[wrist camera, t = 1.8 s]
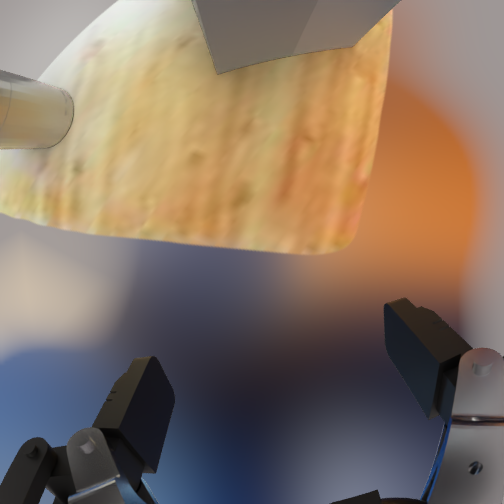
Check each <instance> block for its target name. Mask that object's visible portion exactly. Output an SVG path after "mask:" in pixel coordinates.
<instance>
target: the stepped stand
mask: <svg viewBox="0 0 504 504" xmlns="http://www.w3.org/2000/svg"><path fill="white" fill-rule="evenodd" d="M400 1H401V0H192V3H193V6H194V9H195V12H196V14H197V17H198V20H199V23H200V26H201V28H202V31H203V34H204V37H205V40H206V43H207V46H208V48H209V51H210V54H211V57H212V60H213V63H214V66H215V69H216V72H217V75H218V74H221V73H224V72H228V71H231V70H235V69H238V68H242V67H246V66H249V65H253V64H257V63H261V62H266V61H270V60H274V59H279V58H284V57H289V56H294V55H299V54H305V53H311V52H317V51H323V50H331V49H338V48H347V47H353V46H354V45H355V44H356V43H357V42H358V41H359V40H360V39H361V38H362V37H363V36H364V35H365V34H366V33H367V32H368V31H369V30H370V29H371V28H372V27H373V26H374V25H375V24H376V23H377V22H379V21H380V20H381V19H382V18H383V17H384V16H385V15H386V14H387V13H388V12H389V11H390V10H391V9H392V8H393V7H394V6H395V5H396V4H398V3H399V2H400Z"/></svg>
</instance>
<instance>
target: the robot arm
mask: <svg viewBox="0 0 504 504" xmlns="http://www.w3.org/2000/svg"><path fill="white" fill-rule="evenodd" d="M72 118H73V102H72V99H71V97H70V95H69V94H68V93H67V92H66V91H64V90H62V89H59V88H56V87H53V86H50V85H48V84H45V83H42V82H39V81H36V80H33V79H29V78H26V77H23V76H20V75H16V74H13V73H10V72H6V71H3V70H0V149H34V148H49V147H52V146H54V145H56V144H57V143H58V142H60V141H61V140H62V139H63V137H64V136H65V135H66V133H67V131H68V130H69V128H70V125H71V122H72ZM384 332H385V346H386V350H387V353H388V356H389V357H390V359H391V361H392V362H393V364H394V365H395V367H396V368H397V370H398V372H399V373H400V375H401V376H402V378H403V379H404V381H405V383H406V384H407V386H408V387H409V389H410V390H411V392H412V394H413V395H414V397H415V399H416V400H417V402H418V404H419V405H420V407H421V408H422V410H423V412H424V413H425V415H426V417H427V418H428V420H430V419H432V418H434V417H436V416H439V415H440V416H441V418H442V419H443V421H444V422H445V423H444V427H443V431H442V434H441V438H440V442H439V446H438V449H437V453H436V456H435V460H434V463H433V466H432V469H431V472H430V475H429V477H428V480H427V482H426V485H425V487H424V490H423V492H422V495H421V497H420V500H418V499H410V498H383V499H380V496H379V492H378V490H375V491H372V492H369V493H365V494H362V495H359V496H355V497H352V498H348V499H344V500H341V501H337V502H333V503H331V504H502V500H503V496H504V356H503V357H502V356H501V355H500V353H498V352H497V351H495V350H493V349H490V348H475V349H473V348H472V347H471V346H470V345H469V344H468V343H467V342H466V341H465V340H464V339H462V337H460V336H459V335H458V334H457V333H456V332H455V331H454V330H453V329H452V328H451V327H449V325H448V324H447V323H446V322H445V321H442V319H441V318H440V317H439V316H438V315H437V314H436V313H435V312H434V311H432V310H429V309H426V308H424V307H422V306H421V307H419V308H416V307H415V306H414V305H413V304H412V303H411V302H410V301H409V300H408V299H407V298H401V299H398V300H395V301H392V302H389V303H386V304H385V305H384ZM110 392H111V393H110V394H109V395H108V397H107V399H106V401H105V403H104V404H103V406H102V408H101V410H100V412H99V414H98V416H97V418H96V420H95V421H94V423H93V425H92V427H90V428H84V429H82V430H80V431H78V432H76V433H75V434H74V435H73V436H72V437H71V438H70V439H69V441H68V443H67V446H61V447H55V448H52V447H51V446H50V445H49V444H48V443H47V442H46V441H45V440H44V439H43V438H40V437H36V438H32V439H30V440H28V441H27V442H25V443H24V444H23V445H22V446H21V448H20V450H19V451H18V453H17V455H16V457H15V458H14V461H13V462H12V464H11V466H10V468H9V469H8V472H7V473H6V475H5V477H4V479H3V481H2V483H1V485H0V504H39V502H40V499H41V496H42V494H43V492H44V489H45V488H46V489H47V490H49V491H50V492H51V493H52V494H53V495H55V496H56V497H55V499H54V502H53V504H159V503H158V502H157V500H156V498H155V496H154V495H153V494H152V491H151V490H150V488H149V486H148V485H147V483H146V482H145V480H143V478H142V473H156V471H157V468H158V464H159V459H160V456H161V452H162V448H163V444H164V441H165V437H166V433H167V430H168V426H169V422H170V418H171V415H172V412H173V408H174V404H175V395H174V391H173V388H172V386H171V384H170V382H169V380H168V378H167V376H166V374H165V373H164V370H163V368H162V366H161V364H160V362H159V361H158V359H157V358H156V357H155V356H149V357H142V358H135V359H134V360H133V361H132V363H131V365H130V367H129V369H128V371H127V373H124V374H123V375H122V376H121V377H120V378H119V379H118V380H117V381H116V382H115V384H114V386H113V387H112V389H111V391H110Z"/></svg>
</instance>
